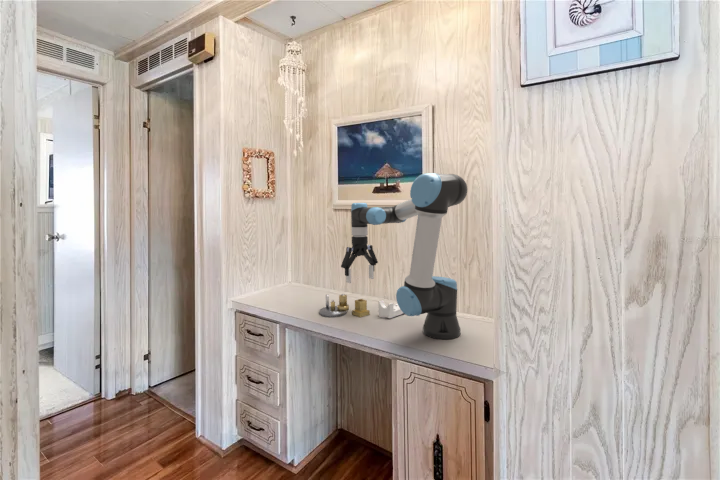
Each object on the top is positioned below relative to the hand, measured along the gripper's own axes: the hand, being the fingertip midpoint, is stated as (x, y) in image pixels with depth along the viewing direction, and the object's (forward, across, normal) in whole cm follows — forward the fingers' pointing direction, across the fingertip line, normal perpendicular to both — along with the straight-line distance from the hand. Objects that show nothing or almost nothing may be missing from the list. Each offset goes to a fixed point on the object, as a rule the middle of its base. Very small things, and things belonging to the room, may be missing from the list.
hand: (360, 280), depth 176 cm
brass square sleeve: (+17, 0, 0) cm, 17 cm away
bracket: (+17, -12, +10) cm, 23 cm away
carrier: (+16, +9, -10) cm, 21 cm away
